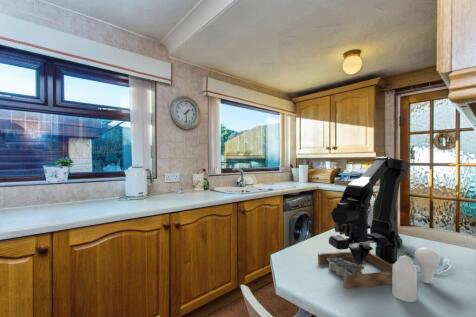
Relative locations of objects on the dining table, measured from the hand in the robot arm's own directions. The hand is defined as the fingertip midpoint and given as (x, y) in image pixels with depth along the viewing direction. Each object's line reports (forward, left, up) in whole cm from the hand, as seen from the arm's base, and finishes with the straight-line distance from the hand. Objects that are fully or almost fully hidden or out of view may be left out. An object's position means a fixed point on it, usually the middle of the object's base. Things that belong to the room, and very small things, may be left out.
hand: (358, 265), depth 79 cm
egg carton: (+5, 0, -2) cm, 6 cm away
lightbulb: (-17, +10, -2) cm, 19 cm away
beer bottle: (-32, -24, -2) cm, 40 cm away
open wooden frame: (0, 0, -2) cm, 2 cm away
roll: (-4, +15, -2) cm, 15 cm away
